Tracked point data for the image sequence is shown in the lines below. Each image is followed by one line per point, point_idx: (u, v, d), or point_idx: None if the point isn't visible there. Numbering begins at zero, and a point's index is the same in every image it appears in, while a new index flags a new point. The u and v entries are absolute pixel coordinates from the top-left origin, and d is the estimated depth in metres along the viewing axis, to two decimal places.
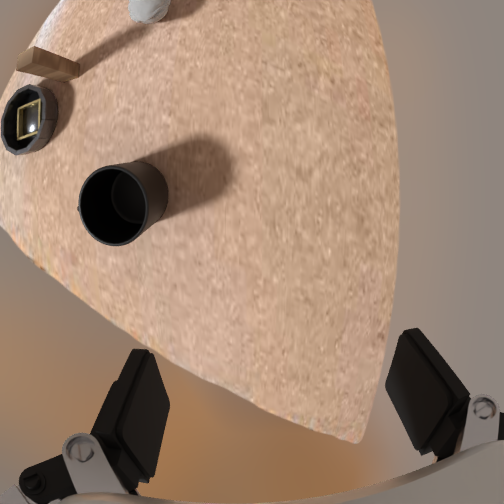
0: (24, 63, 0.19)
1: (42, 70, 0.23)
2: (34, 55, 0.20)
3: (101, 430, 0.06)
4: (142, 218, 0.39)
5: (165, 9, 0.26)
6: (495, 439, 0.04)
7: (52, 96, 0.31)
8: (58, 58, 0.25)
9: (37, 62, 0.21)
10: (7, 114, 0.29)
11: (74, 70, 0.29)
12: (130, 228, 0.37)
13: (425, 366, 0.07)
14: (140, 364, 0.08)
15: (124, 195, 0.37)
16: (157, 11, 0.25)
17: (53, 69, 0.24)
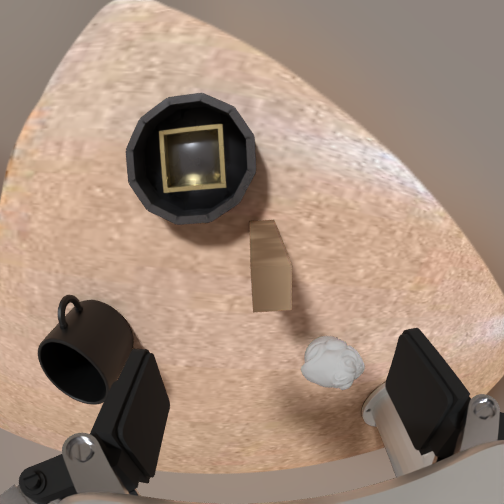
0: (258, 293, 0.17)
1: None
2: None
3: (101, 430, 0.06)
4: None
5: None
6: (495, 439, 0.04)
7: None
8: None
9: None
10: (210, 105, 0.22)
11: None
12: None
13: (425, 366, 0.07)
14: (140, 364, 0.08)
15: None
16: (310, 380, 0.29)
17: None
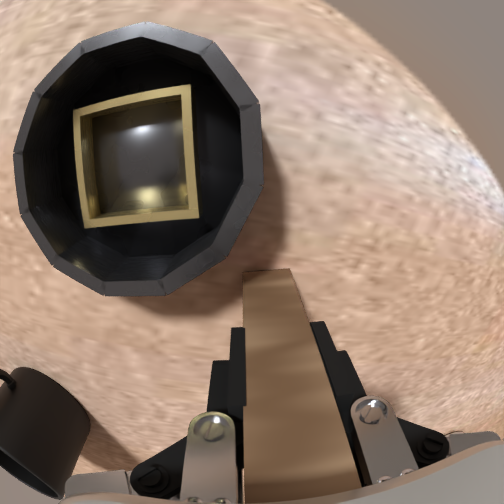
0: None
1: None
2: None
3: (233, 403, 0.07)
4: None
5: None
6: (373, 448, 0.05)
7: None
8: None
9: None
10: (163, 46, 0.08)
11: None
12: None
13: None
14: None
15: None
16: None
17: None
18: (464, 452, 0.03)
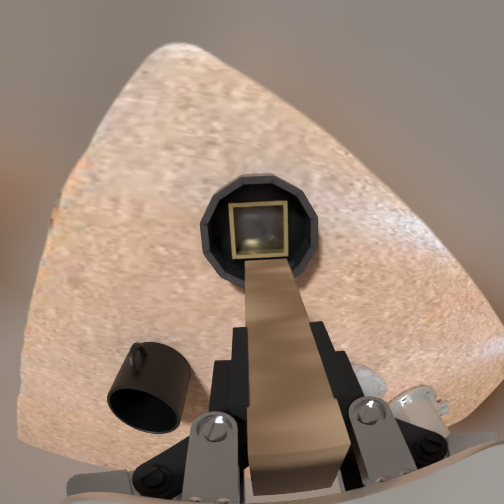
0: (265, 480, 0.06)
1: None
2: None
3: (236, 403, 0.07)
4: None
5: None
6: (371, 449, 0.05)
7: None
8: None
9: None
10: None
11: None
12: None
13: None
14: None
15: None
16: None
17: None
18: (464, 452, 0.03)
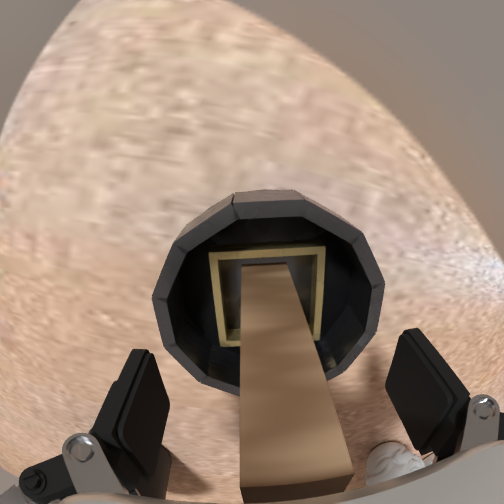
0: None
1: None
2: None
3: (101, 430, 0.06)
4: None
5: None
6: (495, 439, 0.04)
7: None
8: None
9: None
10: None
11: None
12: None
13: (425, 366, 0.07)
14: (140, 364, 0.08)
15: None
16: None
17: None
18: (464, 452, 0.03)
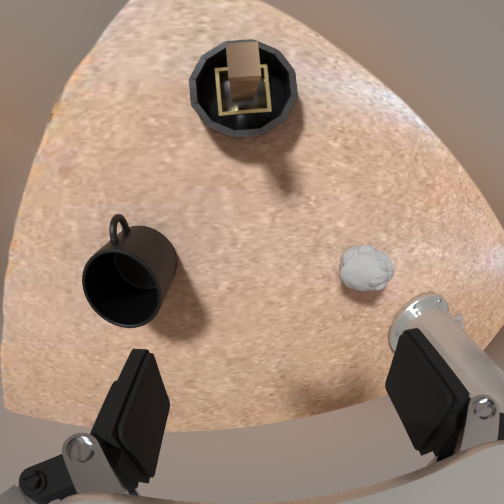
0: (232, 61, 0.18)
1: None
2: (243, 77, 0.18)
3: (101, 430, 0.06)
4: (120, 266, 0.36)
5: (350, 287, 0.35)
6: (495, 439, 0.04)
7: None
8: (250, 91, 0.24)
9: (231, 80, 0.19)
10: (259, 49, 0.25)
11: (240, 99, 0.28)
12: (107, 266, 0.33)
13: (425, 366, 0.07)
14: (140, 364, 0.08)
15: None
16: None
17: (230, 90, 0.23)
18: (464, 452, 0.03)
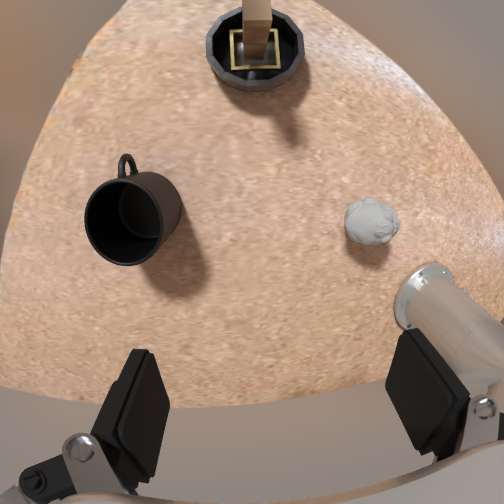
0: (247, 8, 0.18)
1: None
2: (256, 21, 0.18)
3: (101, 430, 0.06)
4: (124, 213, 0.35)
5: (355, 241, 0.34)
6: (495, 439, 0.04)
7: (278, 84, 0.30)
8: (262, 43, 0.24)
9: (245, 25, 0.19)
10: None
11: (251, 56, 0.28)
12: (110, 210, 0.33)
13: (425, 366, 0.07)
14: (140, 364, 0.08)
15: (145, 192, 0.35)
16: (353, 237, 0.33)
17: (243, 40, 0.23)
18: (464, 452, 0.03)
